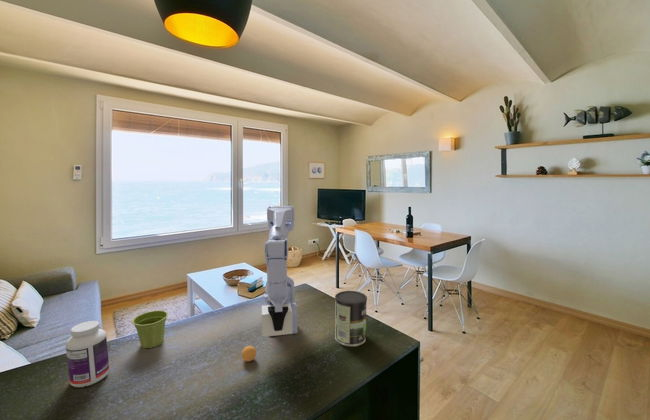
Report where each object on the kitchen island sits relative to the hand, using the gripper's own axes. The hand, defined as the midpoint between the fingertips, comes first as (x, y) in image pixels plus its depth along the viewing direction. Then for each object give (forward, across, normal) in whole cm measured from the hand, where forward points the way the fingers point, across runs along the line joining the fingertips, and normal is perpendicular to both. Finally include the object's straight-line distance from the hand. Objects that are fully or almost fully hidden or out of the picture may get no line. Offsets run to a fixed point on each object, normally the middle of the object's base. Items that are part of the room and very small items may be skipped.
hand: (277, 324), depth 86 cm
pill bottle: (+9, +2, -48) cm, 49 cm away
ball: (+7, +2, -8) cm, 11 cm away
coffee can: (+9, -3, +24) cm, 25 cm away
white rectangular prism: (+2, 0, 0) cm, 2 cm away
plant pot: (+9, -13, -38) cm, 41 cm away
